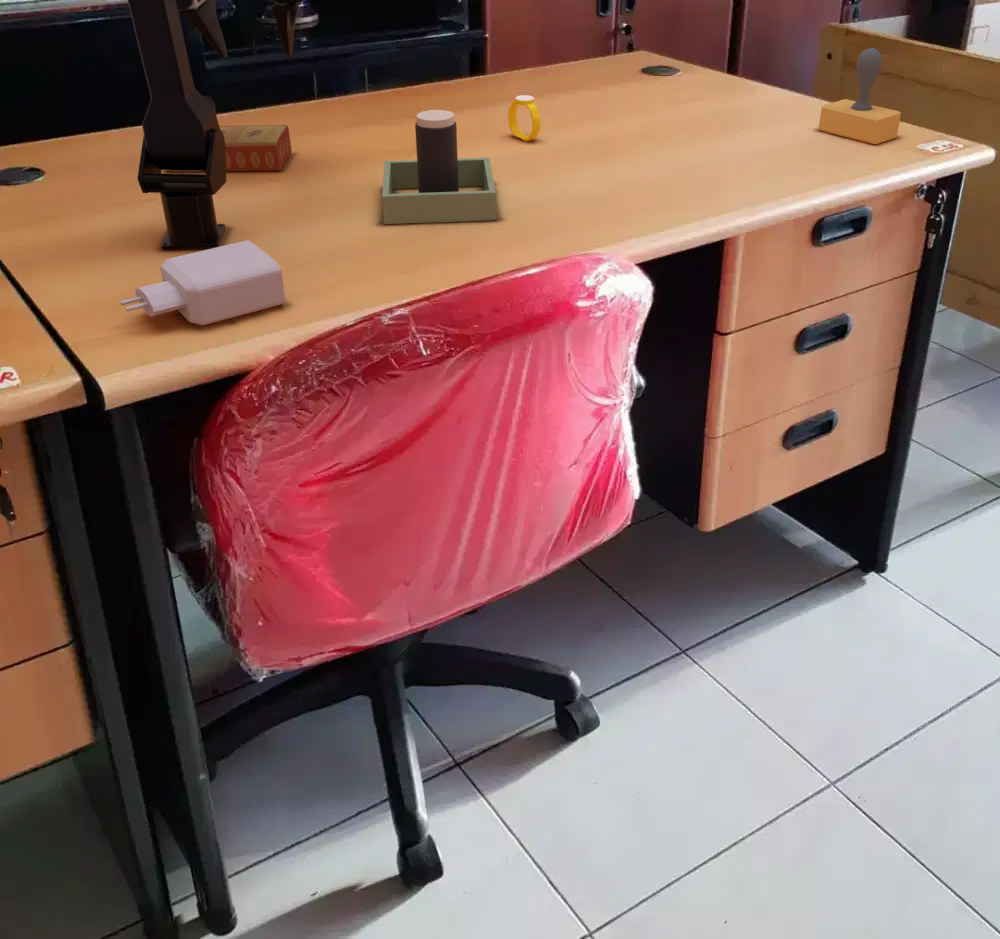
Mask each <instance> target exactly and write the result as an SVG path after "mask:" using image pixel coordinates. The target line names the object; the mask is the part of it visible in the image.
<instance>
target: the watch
mask: <svg viewBox="0 0 1000 939" xmlns="http://www.w3.org/2000/svg"><path fill="white" fill-rule="evenodd" d="M519 106H525V107H526V108H527V110H528V111H529V113H530V117H531V120H532V121H531V131H530V134H529V135H527V134H526V133H524V132H522V131H521V129H520V127H519V124H518V120H517V111H518V107H519ZM507 113H508V114H507V121H508V127H509V129H510V131H511V133H512V135H513V137H516V138H518V139H521V140H522V141H525V142H530V141H533V140H535V139H536V138H537V137H538V136H539V133H540V132H541V131H540V130H541V121H542V120H541V119H542V118H541V115H540V111H539V109H538V107H537V106H536V104H535V97H534V96H532V95H527V94H524V95H523V94H521V95H517V96H515V98H514V100H513V101H511V103H510V105H509V107H508V111H507Z"/></svg>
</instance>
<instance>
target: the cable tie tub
mask: <svg viewBox="0 0 1000 939" xmlns="http://www.w3.org/2000/svg"><path fill="white" fill-rule="evenodd" d="M415 117H416V122H415V123H414V128H415V130H414V131H415V143H416V144H415V146H416V148H415V149H416V160H417V167H418V186H419V188H418V193H432V192H460V190H459V189H460V187H459V186H458V159H459V158H458V133H457V132H458V130H457V128H458V127H457V122H456V120H455V119H456V118H455V113H454V112H453V111H449V110H445V109H430V110H424V111H420V112H418V113H417V114H416V116H415Z"/></svg>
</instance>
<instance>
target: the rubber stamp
mask: <svg viewBox="0 0 1000 939" xmlns="http://www.w3.org/2000/svg"><path fill="white" fill-rule="evenodd" d="M882 66H883V56H882V54H881V52H880V51H879V50H878V49H877V48H872V47H870V48H866V49H865V50H863V51H862V52H860V54H859V55H858V57H857V60H856V68H855V70H856V77H857V82H858V86H859V96H858V98H857V100H852V99H846V98H844V99H841V100H837V101H834V102H830V103H827V104H823V105H821V109H820V115H819V116H820V117H819V123H818V129H817V130H818V131H820V132H824V133H828V134H831V135H835V136H840V137H844V138H847V139H851V140H854V141H855V140H856V141H859V142H862V143H866V144H871V145H878V144H881V143H884V142H886V141H889V140H893V139H896V138H897V137H898V132H899V127H900V121H901V115H902V112H900V111H899V110H896V109H890V108H886V107H882V106H877V105H873V104H871V102H870V101H869V95H870V92H871V89H872V87H873V86H874V83H875V82H876V80H877V78H878V77H879V74H880V72H881V71H882V68H883V67H882Z"/></svg>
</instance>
